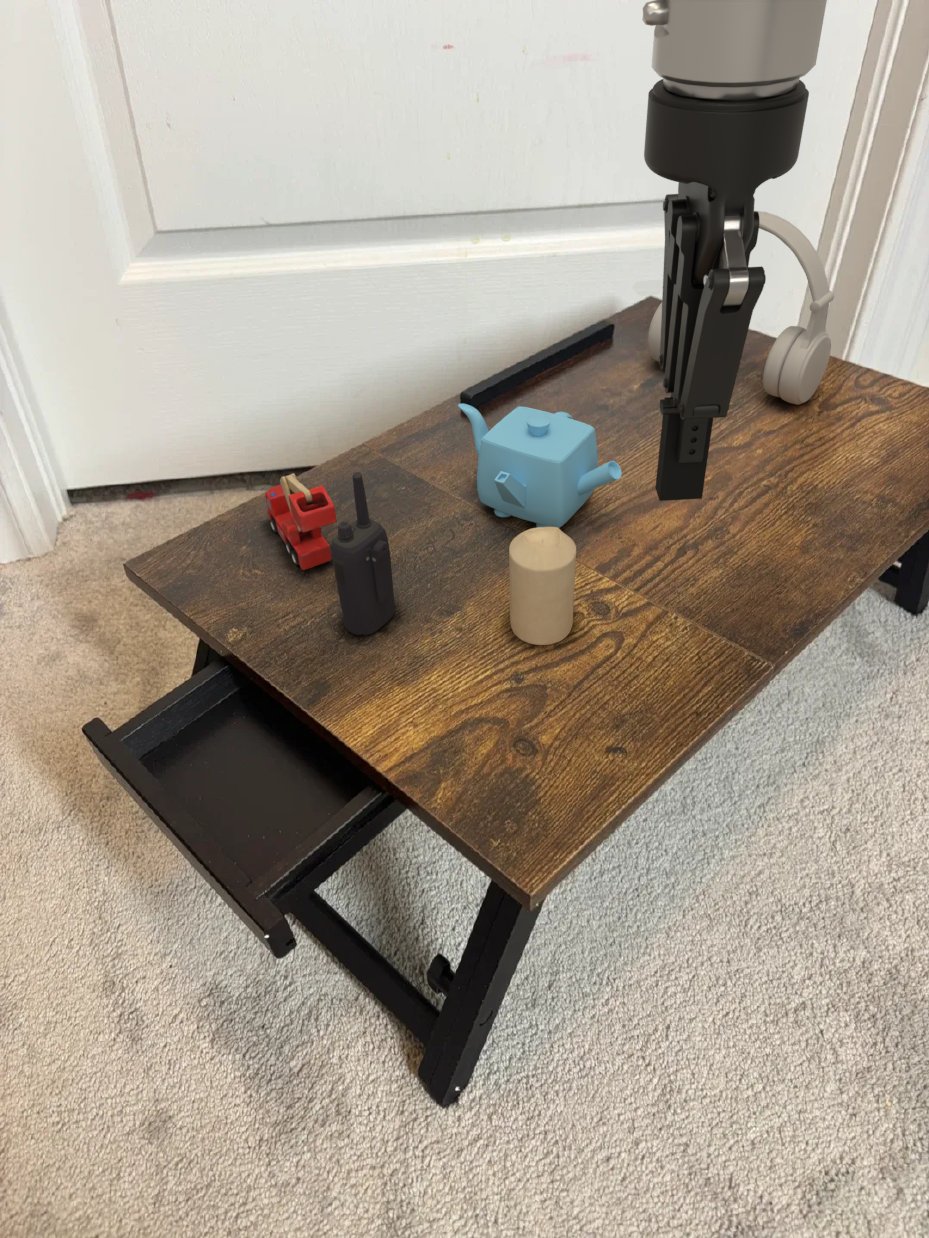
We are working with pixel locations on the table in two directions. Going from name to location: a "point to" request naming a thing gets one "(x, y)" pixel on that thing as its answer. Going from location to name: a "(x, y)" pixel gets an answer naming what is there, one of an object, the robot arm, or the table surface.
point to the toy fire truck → (301, 520)
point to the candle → (542, 585)
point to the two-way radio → (363, 569)
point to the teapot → (537, 464)
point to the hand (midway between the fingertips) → (678, 493)
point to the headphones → (796, 349)
